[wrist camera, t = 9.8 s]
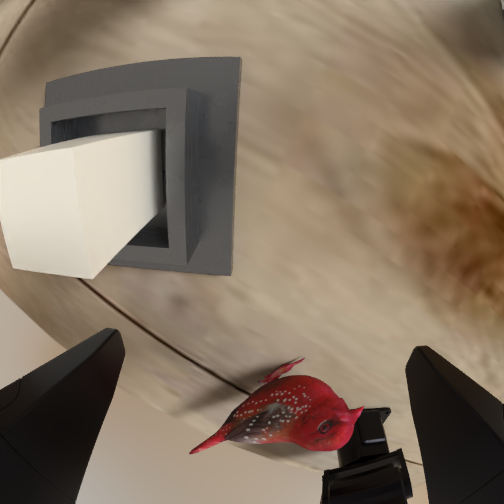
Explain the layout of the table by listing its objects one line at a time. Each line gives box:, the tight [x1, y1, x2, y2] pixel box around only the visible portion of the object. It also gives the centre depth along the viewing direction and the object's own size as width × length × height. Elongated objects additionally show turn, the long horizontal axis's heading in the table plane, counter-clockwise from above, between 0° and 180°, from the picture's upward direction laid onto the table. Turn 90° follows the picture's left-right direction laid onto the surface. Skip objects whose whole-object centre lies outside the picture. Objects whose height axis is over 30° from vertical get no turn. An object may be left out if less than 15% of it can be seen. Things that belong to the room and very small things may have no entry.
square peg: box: [0, 129, 164, 279], centre depth 13 cm, size 5×5×9 cm
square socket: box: [40, 57, 242, 276], centre depth 16 cm, size 14×14×4 cm
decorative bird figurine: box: [189, 358, 364, 454], centre depth 22 cm, size 3×18×10 cm, turn 131°
